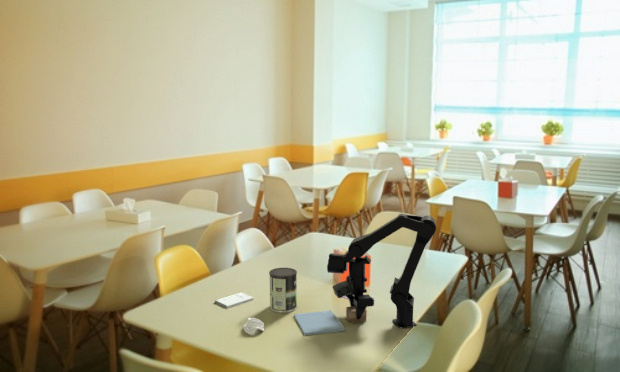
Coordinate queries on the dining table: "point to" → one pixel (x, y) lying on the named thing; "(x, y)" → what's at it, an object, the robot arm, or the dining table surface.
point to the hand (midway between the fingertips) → (356, 316)
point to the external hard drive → (234, 300)
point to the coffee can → (283, 290)
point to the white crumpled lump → (253, 325)
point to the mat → (318, 322)
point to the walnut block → (354, 314)
